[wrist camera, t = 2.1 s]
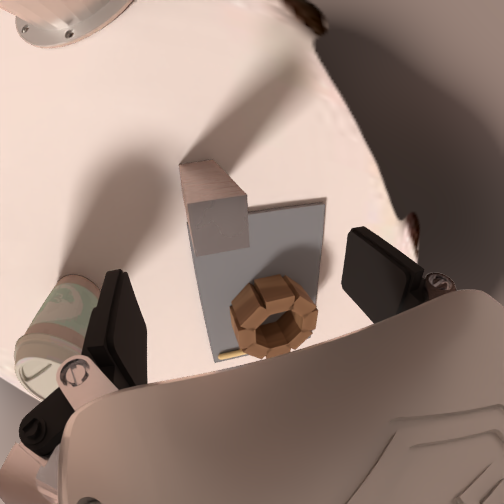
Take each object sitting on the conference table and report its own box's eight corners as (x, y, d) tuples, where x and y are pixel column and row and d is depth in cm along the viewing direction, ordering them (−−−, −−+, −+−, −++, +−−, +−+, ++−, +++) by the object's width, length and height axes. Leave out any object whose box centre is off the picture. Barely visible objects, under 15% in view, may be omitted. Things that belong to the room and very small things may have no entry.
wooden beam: (178, 164, 22) (187, 204, 13) (212, 159, 23) (247, 194, 14) (183, 196, 24) (195, 257, 14) (215, 191, 24) (249, 247, 15)
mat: (186, 222, 25) (187, 228, 24) (322, 202, 28) (329, 206, 27) (213, 359, 35) (215, 367, 34) (308, 334, 38) (312, 341, 37)
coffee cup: (105, 260, 24) (81, 353, 14) (121, 324, 28) (117, 415, 18) (35, 265, 22) (-9, 348, 11) (58, 326, 26) (38, 409, 16)
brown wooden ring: (226, 285, 29) (235, 309, 25) (304, 268, 31) (321, 288, 27) (233, 341, 33) (242, 365, 30) (299, 324, 35) (312, 345, 32)
